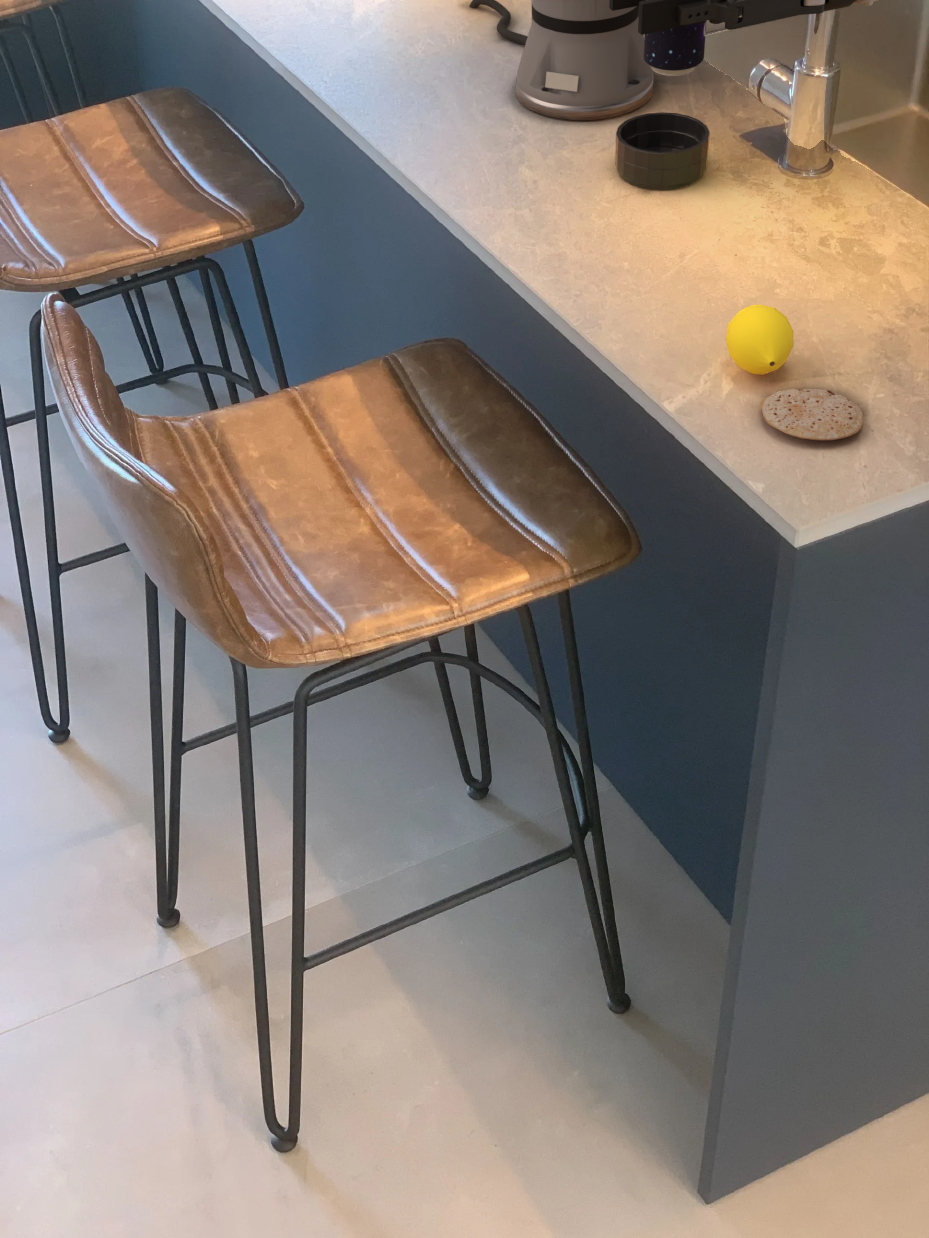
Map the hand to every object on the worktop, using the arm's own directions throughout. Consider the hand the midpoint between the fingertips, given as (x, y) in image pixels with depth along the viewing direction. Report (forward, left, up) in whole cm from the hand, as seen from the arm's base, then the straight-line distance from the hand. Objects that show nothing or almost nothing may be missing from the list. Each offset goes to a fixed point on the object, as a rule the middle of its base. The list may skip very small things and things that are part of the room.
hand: (625, 6), depth 129 cm
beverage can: (-1, +5, -7) cm, 9 cm away
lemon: (+34, +6, -18) cm, 39 cm away
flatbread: (+41, +8, -18) cm, 46 cm away
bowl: (-3, +5, -18) cm, 18 cm away
